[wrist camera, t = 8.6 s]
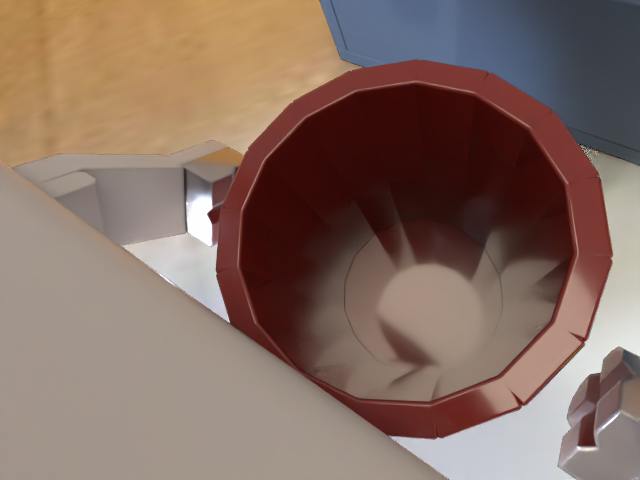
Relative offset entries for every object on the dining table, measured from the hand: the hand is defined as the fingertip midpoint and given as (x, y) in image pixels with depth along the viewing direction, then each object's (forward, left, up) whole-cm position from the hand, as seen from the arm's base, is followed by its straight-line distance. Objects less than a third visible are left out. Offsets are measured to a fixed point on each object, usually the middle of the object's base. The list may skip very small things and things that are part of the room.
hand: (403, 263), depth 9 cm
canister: (0, 0, -6) cm, 6 cm away
